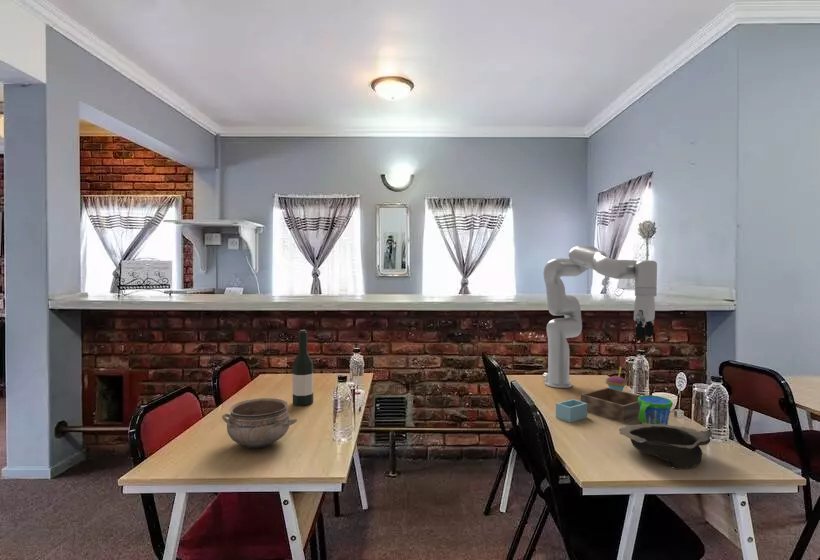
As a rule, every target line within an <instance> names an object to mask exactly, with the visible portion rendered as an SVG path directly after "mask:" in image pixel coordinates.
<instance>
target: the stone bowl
mask: <svg viewBox="0 0 820 560" xmlns="http://www.w3.org/2000/svg"><path fill="white" fill-rule="evenodd" d="M618 431H619V435H622V436H624V437H626V438H628V439H630V443H631V444H632V446H633V447H634V448H635V449H636V450H638V451H640V452H641V453H644V454H648V455H650V456H654V457H655V456H657V457H658V458H659V459H661V460H662V461H663V460H664V461H667V465H668V467H670V466H671V468H672V467H674V468H679V469H683V468H684V469H691V468H693V467H695V466H699V465H700V464H701V463H702V459H703V450H702V449H701V447H700V446H707V445H708V444H709V443H710V442H711V436H712V435H713V432H711V431H709V430H704V431H703V430H699V431H698V430H696V429H694V428H688V427H684V426H678V425H671V424H667V425H662V424H642V423H640V424H630V425H629V424H628V425H625V426H624V427H621V428H618ZM674 468H673V469H674Z"/></svg>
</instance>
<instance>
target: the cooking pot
mask: <svg viewBox="0 0 820 560" xmlns="http://www.w3.org/2000/svg"><path fill="white" fill-rule="evenodd" d="M288 405H289V404H288V402H287V401H285V400H283V399H279V398H271V397H269V398H268V397H267V398H254V399H247V400H243V401H239V402H236V403H234V404H233V405H231V406H229V409H228V410H229V413H230V414H229V413H224V414H222V416H221V418H222V420H223V422H225V423H226V431H227V434H228V436H229V437H230V439H231V440H232V441H233V442H235V443H236V444H238V445H241V446H242V447H243V446H244V447H246V448H249V449H252V450H258V449H259V450H260V449H264V448H268V447H269V446H271V445H272V444H274V443H276V442H278V440H280V439H283V437H284V436H285V435H286V434H287V432H288V430H289V429H290V426H292V425H293V424H295V423H297V422H298V420H297V419H296V418H294V419H291V416H290V414H289V411H288V409H287V407H288Z"/></svg>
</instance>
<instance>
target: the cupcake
mask: <svg viewBox="0 0 820 560" xmlns="http://www.w3.org/2000/svg"><path fill="white" fill-rule="evenodd" d="M621 372H622V366H620V367H619V371H618V375H613V376H609V377H607V378H606V379H605V384H607V385H608V388H611V389H615V390H619V391H623V392H624V389H625V387H626V386H627V380H626V379H625V378H623V377H622V376H621Z"/></svg>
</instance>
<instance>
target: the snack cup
mask: <svg viewBox="0 0 820 560" xmlns="http://www.w3.org/2000/svg"><path fill="white" fill-rule="evenodd" d="M639 396H640V397H638V402H639V405H640V412H639V416H638V418H637V419H638V421H639V422H640V423H641V424H662V425H669V424H668V423H669V419H670V414H671V408H672V406H673V405H674V403H673V401H672V399H669V398H667V397H662V396H659V395H639Z"/></svg>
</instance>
